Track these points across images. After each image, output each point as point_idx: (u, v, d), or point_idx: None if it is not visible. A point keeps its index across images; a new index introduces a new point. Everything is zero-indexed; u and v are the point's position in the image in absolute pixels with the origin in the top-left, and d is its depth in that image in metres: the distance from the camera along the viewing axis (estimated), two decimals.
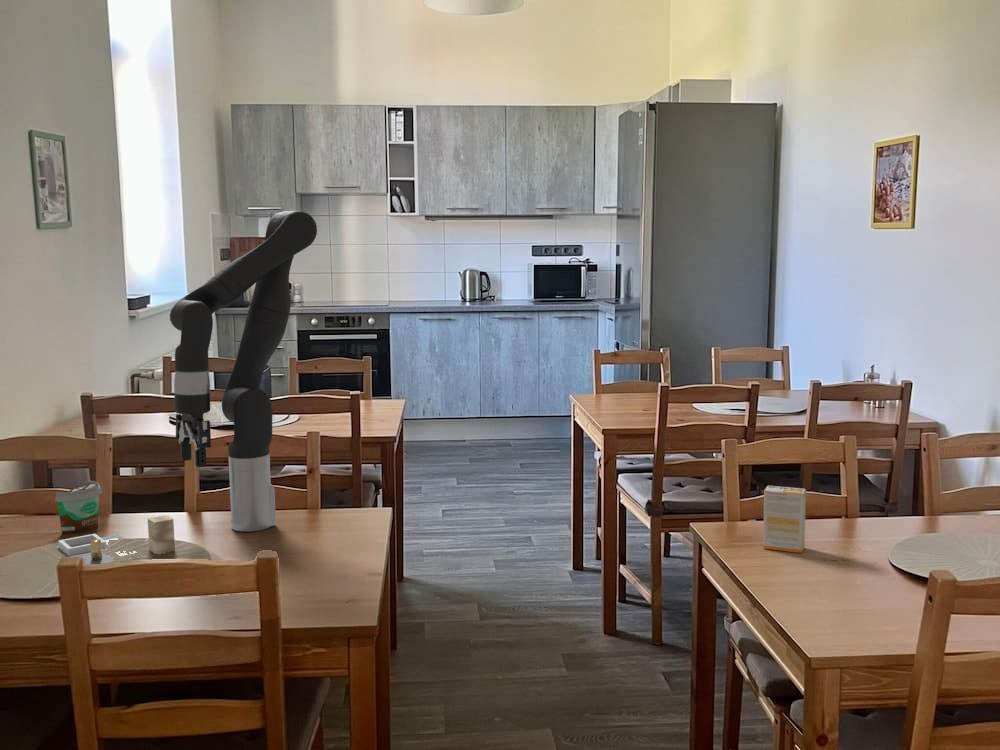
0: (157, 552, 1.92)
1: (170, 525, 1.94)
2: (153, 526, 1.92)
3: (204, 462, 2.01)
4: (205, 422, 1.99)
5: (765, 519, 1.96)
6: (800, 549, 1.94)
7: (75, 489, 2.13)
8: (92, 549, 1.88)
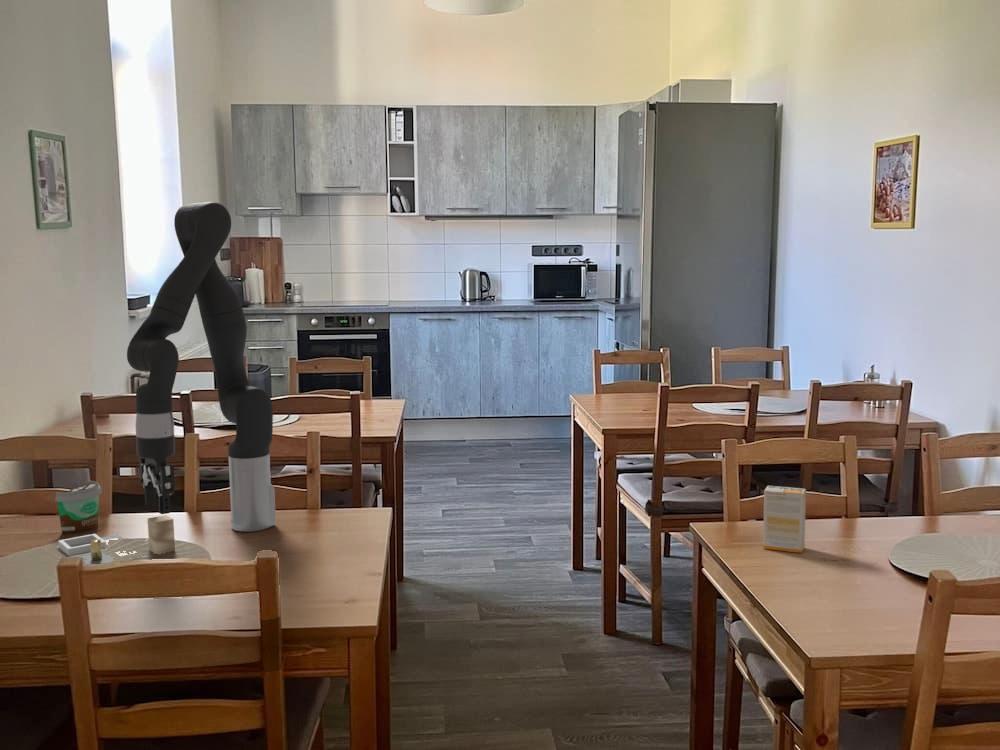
0: (157, 552, 1.92)
1: (170, 525, 1.94)
2: (153, 526, 1.92)
3: (168, 509, 1.90)
4: (168, 467, 1.88)
5: (765, 519, 1.96)
6: (800, 549, 1.94)
7: (75, 489, 2.13)
8: (92, 549, 1.88)
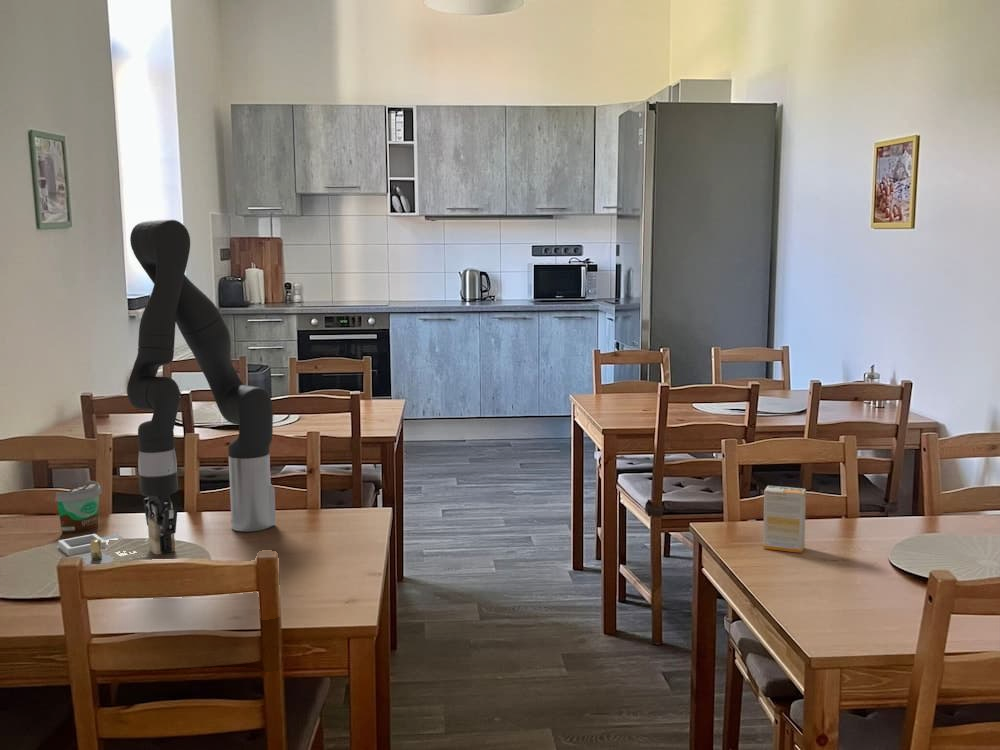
0: (157, 552, 1.92)
1: None
2: (153, 526, 1.92)
3: (169, 548, 1.93)
4: (172, 512, 1.89)
5: (765, 519, 1.96)
6: (800, 549, 1.94)
7: (75, 489, 2.13)
8: (92, 549, 1.88)
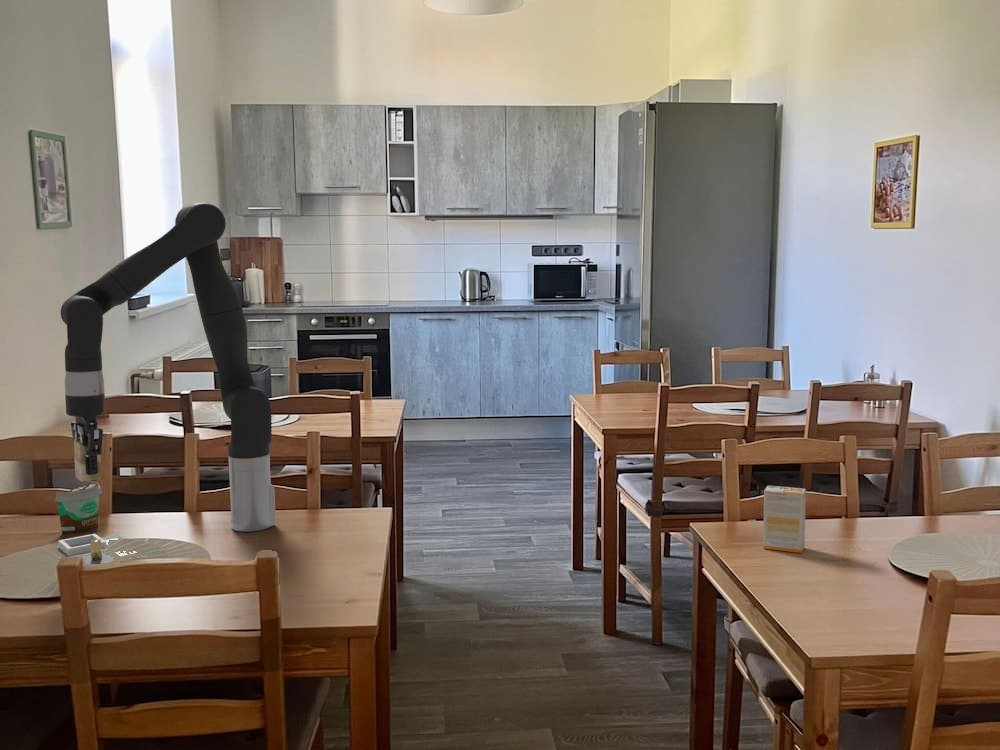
0: (82, 474, 1.91)
1: None
2: (78, 447, 1.91)
3: (95, 470, 1.92)
4: (97, 431, 1.88)
5: (765, 519, 1.96)
6: (800, 549, 1.94)
7: (75, 489, 2.13)
8: (92, 549, 1.88)
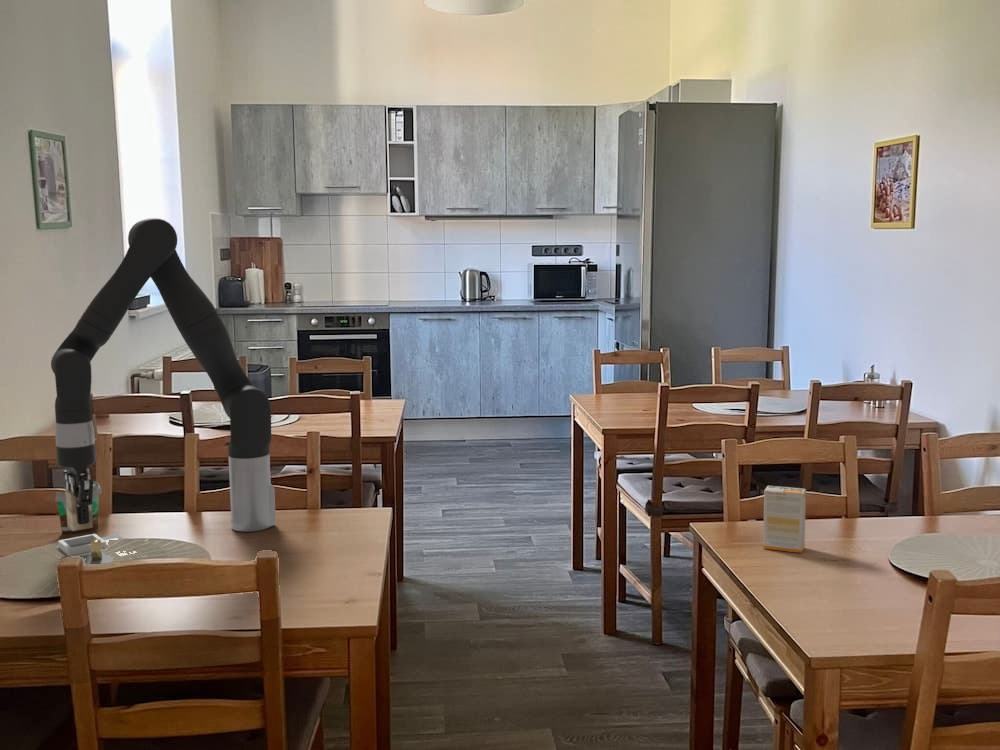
0: (73, 524, 1.94)
1: None
2: (69, 497, 1.93)
3: (86, 519, 1.94)
4: (87, 482, 1.90)
5: (765, 519, 1.96)
6: (800, 549, 1.94)
7: None
8: (92, 549, 1.88)
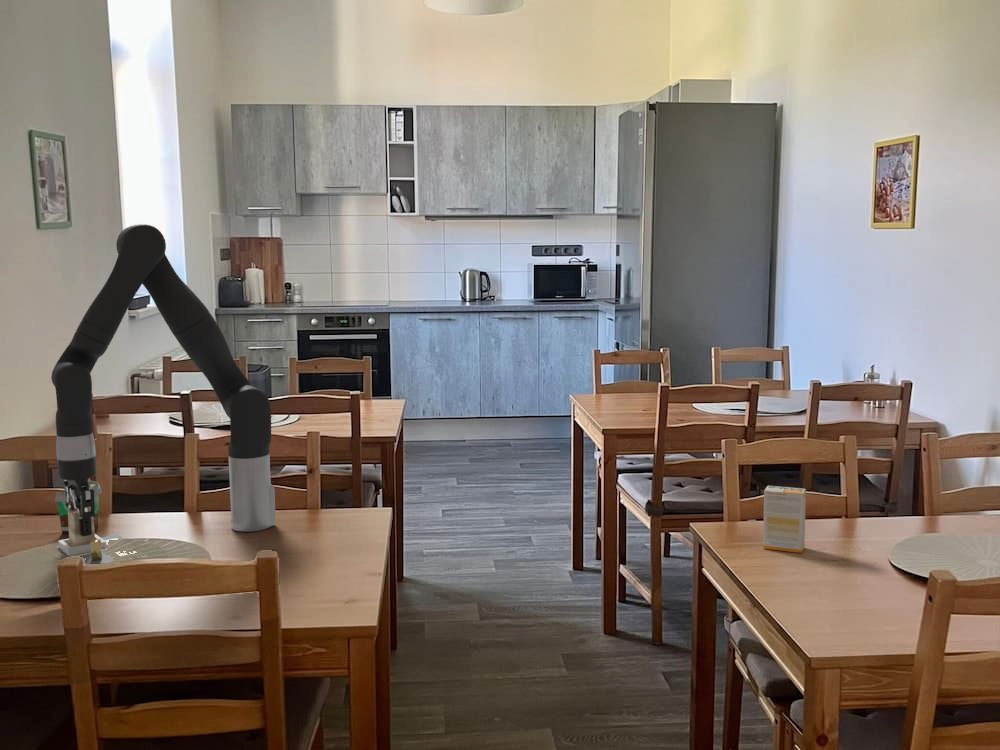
0: (76, 544, 1.94)
1: None
2: (72, 518, 1.94)
3: (89, 531, 1.94)
4: (88, 492, 1.90)
5: (765, 519, 1.96)
6: (800, 549, 1.94)
7: None
8: (92, 549, 1.88)
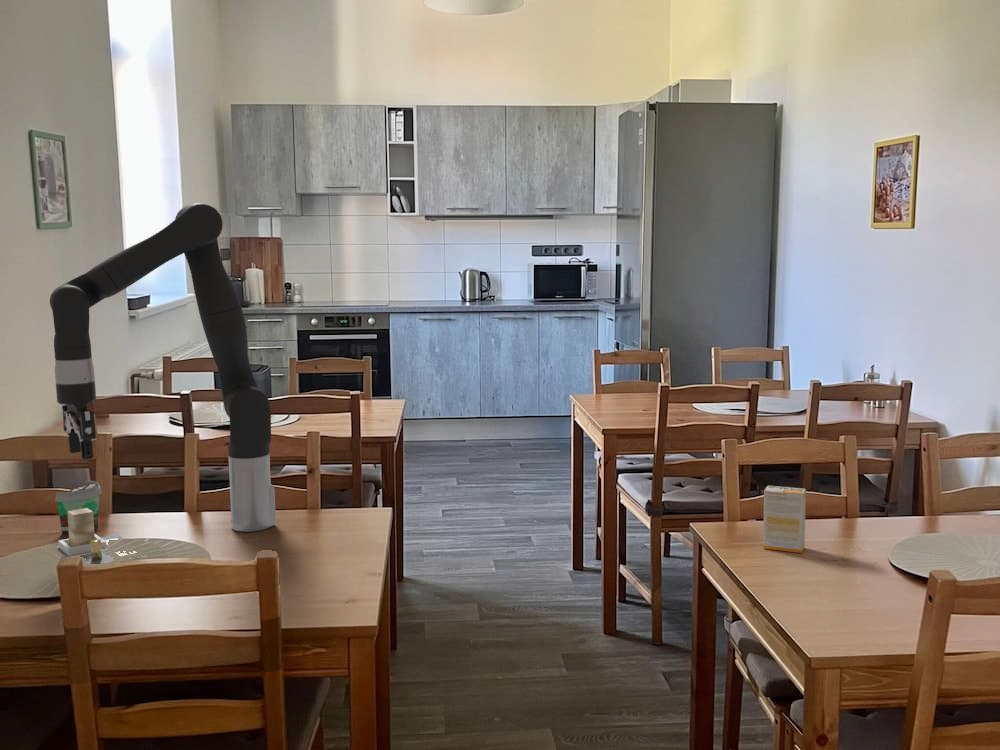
0: (76, 544, 1.94)
1: (90, 518, 1.96)
2: (72, 518, 1.94)
3: (90, 454, 1.92)
4: (88, 412, 1.90)
5: (765, 519, 1.96)
6: (800, 549, 1.94)
7: (75, 489, 2.13)
8: (92, 549, 1.88)
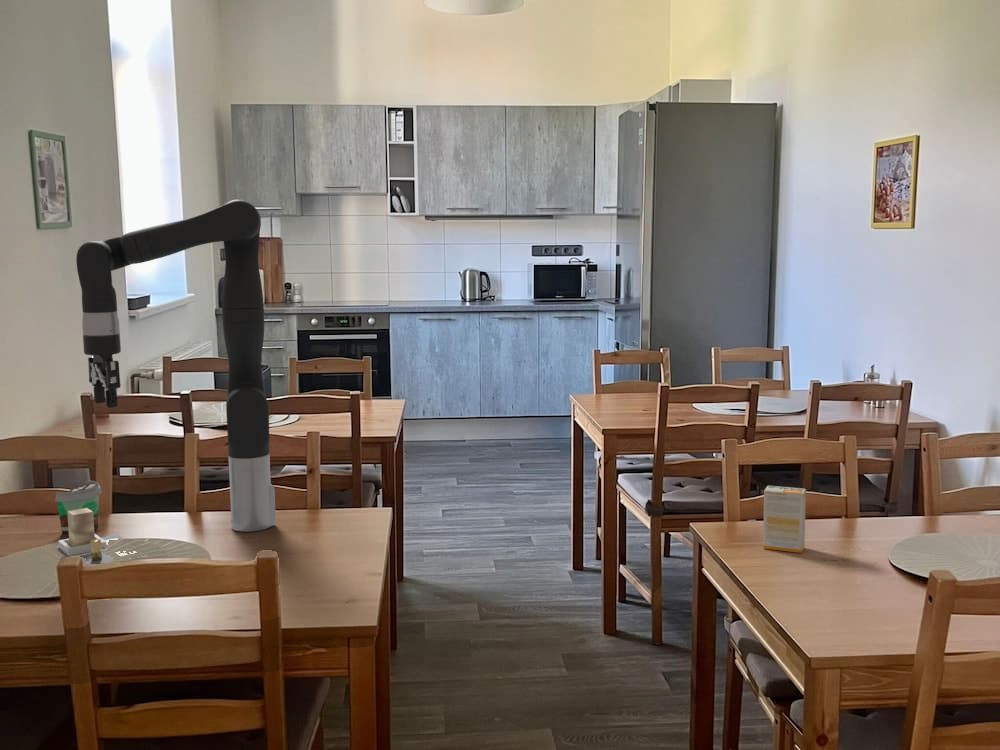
0: (76, 544, 1.94)
1: (90, 518, 1.96)
2: (72, 518, 1.94)
3: (115, 403, 2.01)
4: (113, 362, 1.99)
5: (765, 519, 1.96)
6: (800, 549, 1.94)
7: (75, 489, 2.13)
8: (92, 549, 1.88)
